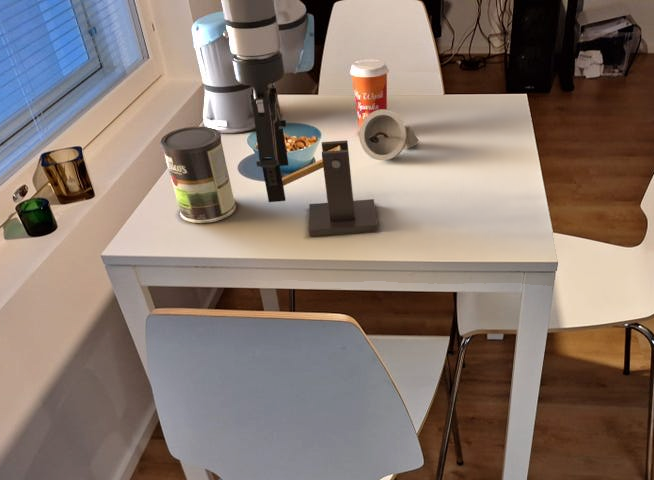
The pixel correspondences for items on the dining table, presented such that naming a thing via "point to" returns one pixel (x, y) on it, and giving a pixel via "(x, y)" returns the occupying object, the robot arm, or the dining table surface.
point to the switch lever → (305, 170)
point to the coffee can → (199, 174)
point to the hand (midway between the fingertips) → (279, 182)
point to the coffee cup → (369, 86)
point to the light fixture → (385, 135)
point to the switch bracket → (340, 198)
